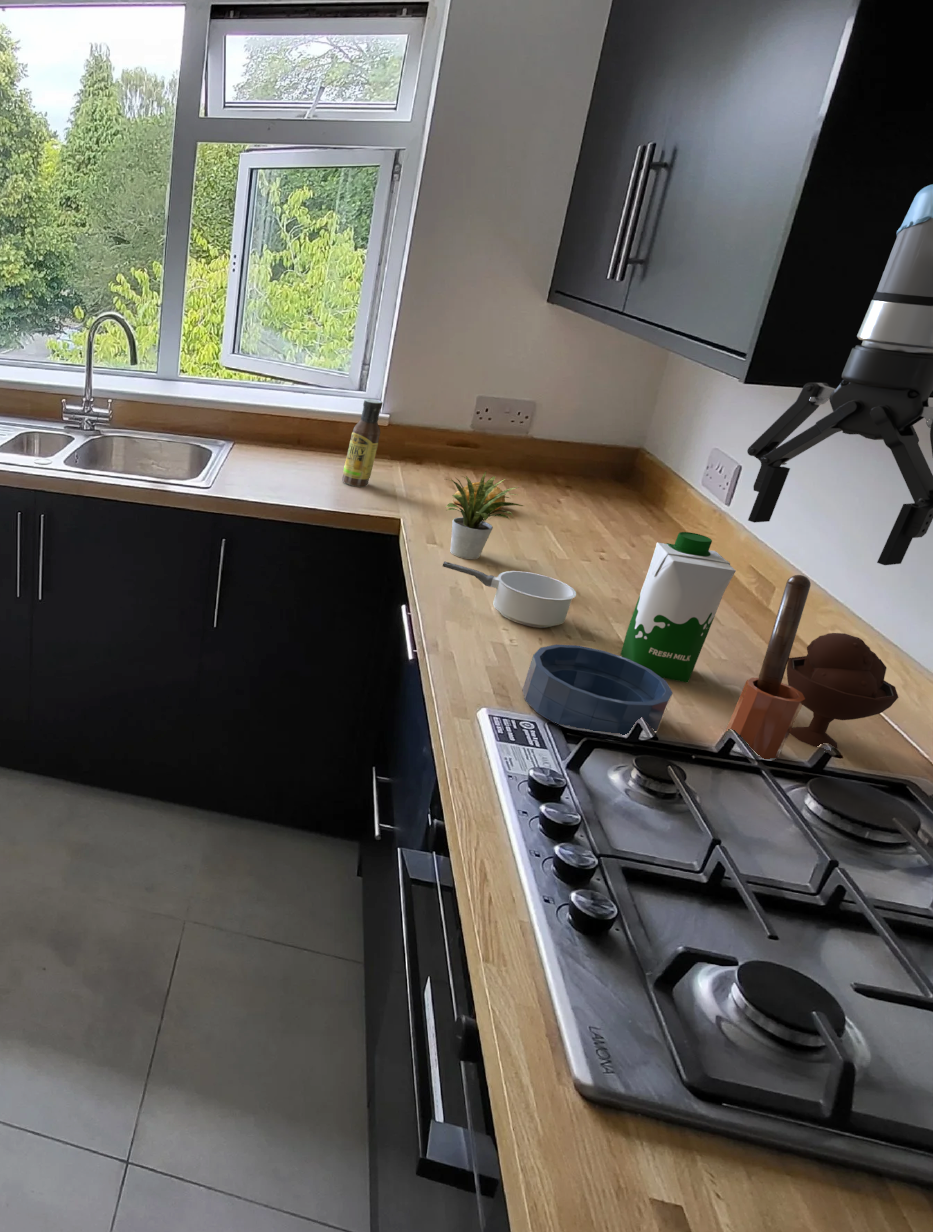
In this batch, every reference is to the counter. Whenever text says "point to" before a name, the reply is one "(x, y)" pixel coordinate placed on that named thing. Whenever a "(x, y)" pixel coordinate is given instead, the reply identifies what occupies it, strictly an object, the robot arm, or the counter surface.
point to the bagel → (475, 486)
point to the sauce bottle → (363, 445)
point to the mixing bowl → (594, 689)
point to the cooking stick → (783, 634)
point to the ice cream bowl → (838, 684)
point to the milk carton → (677, 606)
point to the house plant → (475, 518)
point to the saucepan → (526, 596)
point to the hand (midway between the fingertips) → (819, 541)
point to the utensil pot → (766, 717)
